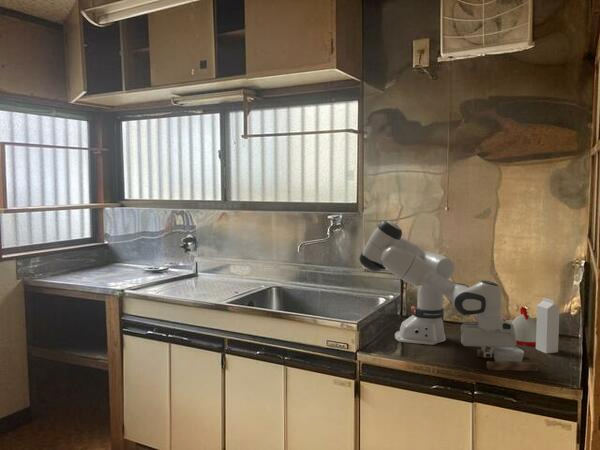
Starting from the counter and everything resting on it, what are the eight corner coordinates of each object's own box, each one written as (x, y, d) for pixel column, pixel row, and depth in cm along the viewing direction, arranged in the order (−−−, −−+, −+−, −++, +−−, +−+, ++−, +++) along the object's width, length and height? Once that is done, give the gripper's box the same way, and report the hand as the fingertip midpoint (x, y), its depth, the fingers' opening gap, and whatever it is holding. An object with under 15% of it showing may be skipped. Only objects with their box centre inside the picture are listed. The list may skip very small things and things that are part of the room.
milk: (546, 353, 204) (547, 301, 202) (535, 349, 209) (536, 297, 207) (558, 352, 205) (560, 299, 203) (547, 347, 211) (548, 296, 209)
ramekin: (530, 366, 190) (530, 352, 189) (505, 369, 186) (506, 355, 186) (510, 356, 200) (510, 344, 200) (486, 359, 197) (486, 346, 197)
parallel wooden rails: (487, 369, 187) (488, 363, 186) (477, 355, 202) (477, 349, 202) (537, 371, 185) (538, 364, 185) (523, 356, 201) (523, 350, 200)
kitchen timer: (534, 336, 227) (535, 304, 226) (546, 346, 213) (547, 311, 212) (502, 335, 228) (503, 303, 227) (512, 345, 215) (513, 311, 213)
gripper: (462, 323, 191) (461, 359, 192) (518, 325, 189) (517, 361, 190) (459, 319, 197) (458, 353, 198) (513, 321, 195) (511, 355, 196)
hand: (487, 357), depth 194 cm, fingers closed
